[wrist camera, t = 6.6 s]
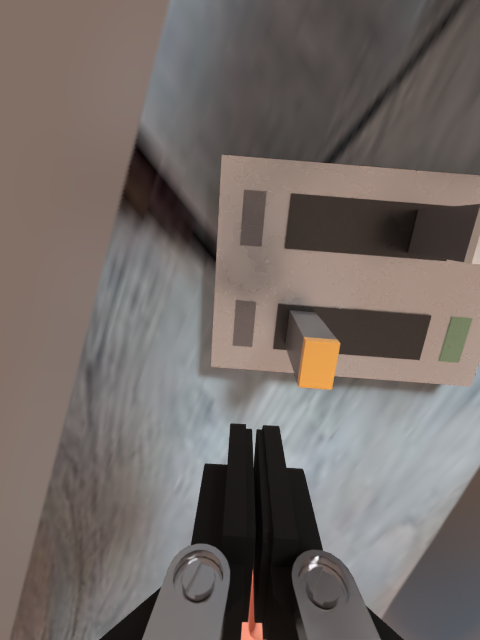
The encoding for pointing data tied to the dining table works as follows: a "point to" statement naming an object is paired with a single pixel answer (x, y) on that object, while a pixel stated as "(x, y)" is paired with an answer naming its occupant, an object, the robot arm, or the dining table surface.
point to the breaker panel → (342, 270)
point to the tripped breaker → (311, 350)
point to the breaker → (448, 233)
